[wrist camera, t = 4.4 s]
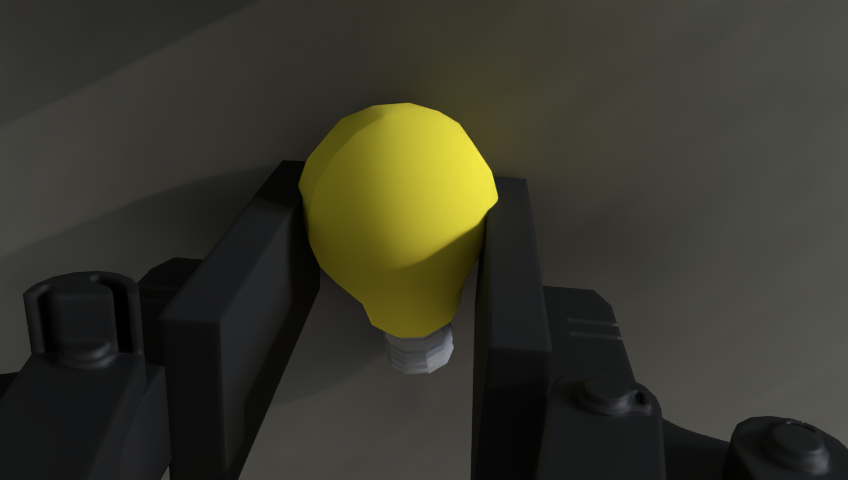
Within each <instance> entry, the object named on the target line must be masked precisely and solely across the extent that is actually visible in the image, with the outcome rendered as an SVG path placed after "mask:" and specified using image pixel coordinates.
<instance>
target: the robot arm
mask: <svg viewBox="0 0 848 480" xmlns="http://www.w3.org/2000/svg"><path fill="white" fill-rule="evenodd" d="M305 164H306V162H300V161H287V160H283V161H282V162H281V163H280V164H279V166H278V167H277V168H276V169H275V171H274V172H273V173H272V174H271V176H270V177H269V178H268V179H267V181H266V182H265V183H264V184H263V186H262V187H261V188H260V189H259V191H258V192H257V193H256V195H255V196H254V197H253V198H252V200H251V201H250V202H249V203H248V205H247V206H246V207H245V208H244V210H243V211H242V212H241V213H240V215H239V216H238V217H237V218H236V220H235V221H234V222H233V223H232V225H231V226H230V227H229V229H228V230H227V231H226V232H225V234H224V235H223V236H222V237H221V239H220V240H219V241H218V242H217V244H216V245H215V246H214V247H213V249H212V250H211V251H210V252H209V254H208V255H207V256H206V257H205V259H204V260H201V259H189V258H177V257H174V258H172V259H170V260H168V261H166V262H164V263H162V264H160V265H158V266H156V267H154V268H152V269H150V270H149V271H148V272H147V274H146V275H145V276H144V277H143V278H142V279H141V280H140V281H139V282H138V283H137V284H136V283H135V282H134V281H133V280H132V279H131V278H129V277H126V276H123V275H120V274H117V273H111V272H101V271H88V272H74V273H69V274H65V275H60V276H55V277H52V278H49V279H47V280H45V281H42V282H40V283H37V284H35V285H34V286H32V287H31V288H30V289H28V290H27V291H26V292H25V293H23V298H24V305H25V311H26V318H27V325H28V332H29V338H30V345H31V352H32V354H31V356H30V357H29V359H28V360H27V362H26V363H25V365H24V366H23V368H22V369H21V371H20V372H15V373H8V374H0V480H161V478H162V476H163V474H164V473H165V471H166V469H167V467H168V466H169V473H170V480H238V478H239V476H240V473H241V471H242V469H243V466H244V464H245V462H246V459H247V457H248V454H249V452H250V450H251V447H252V445H253V443H254V440H255V438H256V436H257V433H258V431H259V429H260V426H261V424H262V422H263V419H264V417H265V415H266V412H267V410H268V408H269V405H270V403H271V401H272V398H273V396H274V394H275V391H276V389H277V387H278V384H279V382H280V380H281V377H282V375H283V373H284V370H285V368H286V366H287V363H288V361H289V359H290V356H291V354H292V352H293V349H294V347H295V345H296V342H297V340H298V338H299V335H300V333H301V331H302V328H303V326H304V324H305V321H306V319H307V317H308V314H309V312H310V310H311V307H312V305H313V303H314V300H315V298H316V296H317V293H318V291H319V289H320V266H319V263H318V261H317V259H316V257H315V255H314V253H313V250H312V248H311V246H310V243H309V240H308V236H307V233H306V229H305V226H304V222H303V213H302V196H301V192H300V190H299V181H300V178H301V175H302V172H303V170H304V167H305ZM493 179H494V183H495V187H496V191H497V195H498V200H497V202H496V203H495V204H494V205H493V206H492V207H491V208H490V209H489V210H488V211H487V222H486V231H485V240H484V246H483V248H482V250H481V252H480V256H479V267H478V277H477V288H476V298H475V329H474V369H473V409H472V449H471V480H848V449H847V448H846V447H845V446H844V445H843V444H842V443H841V442H840V441H839V440H837V439H836V438H834V437H832V436H830V435H829V434H827V433H825V432H823V431H822V430H820V429H818V428H817V427H815V426H812V425H810V424H807V423H802V422H801V421H798V420H795V419H791V418H780V417H774V416H763V417H751V418H749V419H747V420H745V421H743V422H740V423H738V424H737V426H736V428H735V430H734V432H733V434H732V437H731V441H730V442H726V441H723V440H719V439H716V438H712V437H709V436H705V435H702V434H698V433H695V432H692V431H689V430H687V429H684V428H681V427H679V426H677V425H675V424H673V423H671V422H669V421H667V420H665V419H663V418H662V413H661V408H660V405H659V403H658V400H657V398H656V397H655V396H654V395H653V394H652V393H651V392H650V391H649V390H648V389H647V388H646V387H644V386H643V385H641V384H639V383H637V382H635V379H634V375H633V372H632V369H631V366H630V363H629V360H628V357H627V353H626V350H625V347H624V344H623V341H622V340H621V335H620V332H619V328H618V326H617V322H616V319H615V316H614V313H613V310H612V306H611V305H610V304H609V303H607V302H606V301H605V300H604V299H603V298H602V297H601V296H600V295H599V294H597V293H596V292H595V291H594V290H586V289H574V288H563V287H551V286H542V279H541V273H540V266H539V260H538V253H537V247H536V240H535V234H534V227H533V221H532V214H531V207H530V201H529V194H528V188H527V181H526V179H516V178H504V177H493Z"/></svg>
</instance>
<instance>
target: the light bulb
mask: <svg viewBox="0 0 848 480" xmlns="http://www.w3.org/2000/svg"><path fill="white" fill-rule="evenodd" d="M299 190H300V192H301V196H302V213H303V222H304V226H305V229H306V233H307V236H308V240H309V243H310V246H311V248H312V250H313V253H314V255H315V257H316V259H317V261H318V263H319V266H320V267H321V268H322V269H323V270H324V271H325V272H326V273H327V274H328V275H329V276H330V277H331V278H332V279H333V280H334V281H335V282H336V283H337V284H338V285H340V286H341V287H342V288H343V289H345V290H346V291H347V292H348V293H349V294H351V295H352V296H353V297H354V298H356V299H357V300H358V301H359V302H360V303H362V304H363V306H364V308H365V311H366V313H367V315H368V317H369V319H370V322H371V324H372V325H373V326H375V327H377V328H379V329H381V330H382V333H383V338H384V344H385V346H386V352H387V355H388V358H389V361H390V364H391V366H393V367H395V368H396V369H398V370H400V371H402V372H404V373H406V374H429V373H431V372H433V371H434V370H436V369H438V368H440V367H441V366H443V365H445V364H446V363H447V362H448V360H449V357H450V355H451V353H452V351H453V348H454V347H453V344H452V340H453V338H452V336H451V335H452V332H451V328H452V327H451V325H450V322H451V321H452V318H453V316H454V314H455V312H456V310H457V308H458V305H459V303H460V301H461V294H462V287H463V284H464V282H465V281H466V279H467V278H468V276H469V274H470V272H471V270H472V268H473V266H474V264H475V262H476V260H477V259H478V256H479V254H480V252H481V250H482V248H483V246H484V240H485V231H486V222H487V211H488V210H489V209H490V208H491V207H492V206H493V205H494V204H495V203H496V202H497V200H498V195H497V191H496V187H495V183H494V179H493V175H492V171H491V170H490V168H489V167H488V165H487V164H486V162H485V161H484V159H483V158H482V156H481V155H480V153H479V152H478V150H477V149H476V147H475V146H474V144H473V143H472V141H471V140H470V138H469V137H468V135H467V134H466V133H465V131H464V130H463V128H462V127H461V126H460V124H459V123H458V122H456V121H454V120H453V119H451V118H449V117H447V116H446V115H444V114H442V113H440V112H439V111H435V110H432V109H429V108H425V107H422V106H419V105H415V104H412V103H400V104H386V105H373V106H371V107H368V108H366V109H363V110H361V111H358V112H356V113H354V114H351V115H349V116H346V117H344V118H342V119H341V120H340V121H339V122H338V123H337V124H336V125H335V126H334V128H333V129H332V130H331V131H330V132H329V133H328V134H327V136H326V137H325V138H324V139H323V140H322V142H321V143H320V144H319V145H318V147H317V148H316V149H315V150H314V151H313V153H312V154H311V155H310V156H309V157H308V159H307V161H306V164H305V167H304V170H303V172H302V175H301V178H300V181H299Z"/></svg>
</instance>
